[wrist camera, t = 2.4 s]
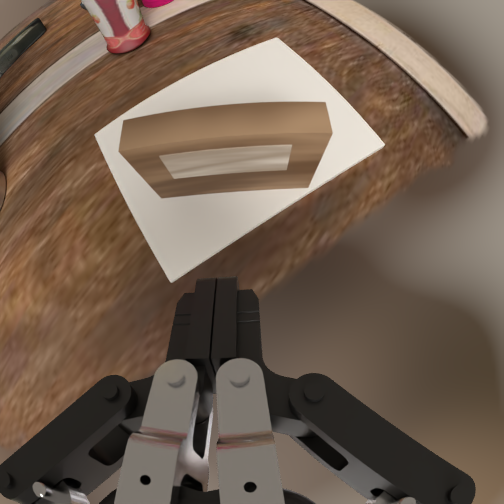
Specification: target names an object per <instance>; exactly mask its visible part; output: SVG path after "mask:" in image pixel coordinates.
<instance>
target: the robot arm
mask: <svg viewBox="0 0 504 504" xmlns="http://www.w3.org/2000/svg"><path fill="white" fill-rule="evenodd" d="M5 190H6V180H5V176H4V174H3V173H2V171H0V209H1V207H2V204H3V201H4V196H5ZM213 394H217V412H218V429H219V439H218V441H217V449H216V450H217V467H218V481H219V489H218V490H213V491H208V482H209V466H208V450H209V443H210V434H211V427H212V419H213V408H212V404H213ZM272 431H273V432H277V433H282V434H287V435H289V436H290V437H291V438H292V439H293V440H294V441H296V442H297V443H298V444H299V445H300V446H301V447H302V448H304V449H305V450H306V451H307V452H308V453H309V454H310V455H312V456H313V457H314V458H315V459H317V460H318V461H319V462H320V463H321V464H322V465H324V466H325V467H326V468H328V469H329V470H330V471H331V472H332V473H334V474H335V475H336V476H337V477H339V478H340V479H341V480H342V481H344V482H345V483H346V484H348V485H349V486H350V487H352V488H353V489H355V490H356V491H357V492H358V493H360V494H361V495H363V496H364V497H365V498H367V499H368V501H367V502H366V504H471V503H472V501H473V499H474V496H475V483H474V481H473V479H472V478H471V477H470V476H469V475H467V474H466V473H464V472H463V471H461V470H459V469H458V468H456V467H455V466H453V465H451V464H450V463H448V462H447V461H445V460H444V459H442V458H440V457H439V456H438V455H436V454H434V453H433V452H432V451H430V450H428V449H427V448H426V447H424V446H422V445H421V444H420V443H418V442H417V441H415V440H413V439H412V438H411V437H409V436H408V435H406V434H405V433H403V432H402V431H401V430H399V429H398V428H396V427H395V426H394V425H392V424H391V423H389V422H388V421H386V420H385V419H384V418H382V417H381V416H380V415H378V414H377V413H376V412H374V411H373V410H371V409H370V408H369V407H367V406H366V405H364V404H363V403H362V402H361V401H359V400H358V399H356V398H355V397H354V396H352V395H351V394H350V393H348V392H347V391H346V390H345V389H343V388H342V387H341V386H339V385H338V384H336V383H335V382H334V381H333V380H331V379H330V378H329V377H327V376H325V375H322V374H317V373H310V374H306V375H303V376H301V377H299V378H298V379H294V378H289V377H284V376H280V375H277V374H275V373H273V372H272V371H270V370H269V369H268V368H267V367H266V366H265V364H264V362H263V358H262V345H261V329H260V315H259V300H258V298H257V296H256V295H255V293H254V292H253V290H252V289H250V290H239V283H238V277H237V276H236V277H220V278H218V279H217V278H205V279H197V282H196V288H195V293H184V295H183V296H182V298H181V299H180V300H179V302H178V303H177V307H176V312H175V317H174V321H173V326H172V331H171V336H170V342H169V347H168V352H167V358H166V361H165V363H164V364H162V365H161V366H160V367H159V368H158V369H157V371H156V372H155V375H153V376H151V377H149V378H145V379H141V380H137V381H133V382H128V381H127V380H126V379H125V378H123V377H122V376H119V375H110V376H106V377H104V378H103V379H101V380H100V381H99V382H97V383H96V384H95V385H94V386H93V387H92V388H90V389H89V390H88V391H87V392H86V393H84V394H83V395H82V396H81V397H80V398H79V399H77V400H76V401H75V402H74V403H73V404H72V405H70V406H69V407H68V408H67V409H66V410H64V411H63V412H62V413H61V414H60V415H59V416H57V417H56V418H55V419H54V420H53V421H51V422H50V423H49V424H48V425H47V426H46V427H44V428H43V429H42V430H41V431H40V432H39V433H37V434H36V435H35V436H34V437H33V438H31V439H30V440H29V441H28V442H27V443H26V444H24V445H23V446H22V447H21V448H20V449H18V450H17V451H16V452H15V453H14V454H13V455H11V456H10V457H9V458H8V459H7V460H6V461H4V462H3V463H2V464H1V465H0V493H1V494H2V495H3V496H4V497H6V498H8V499H10V500H13V501H16V502H18V503H20V504H90V503H89V501H88V500H87V498H86V496H87V495H88V494H90V493H91V492H92V491H93V490H94V489H96V488H97V487H98V486H99V485H100V484H102V483H103V482H104V481H105V480H106V479H108V478H109V477H110V476H111V475H112V474H113V473H114V472H116V471H117V470H118V469H119V468H120V467H121V466H122V468H121V472H120V477H119V481H118V486H117V489H115V490H114V491H112V492H111V493H110V494H109V495H108V496H107V497H105V498H104V499H103V500H102V501H101V502H100V503H99V504H315V503H314V502H313V501H311V500H310V499H309V498H307V497H305V496H303V495H301V494H299V493H296V492H294V491H291V490H287V489H283V488H282V483H281V477H280V472H279V465H278V459H277V453H276V447H275V441H274V437H273V434H272ZM207 491H208V492H207Z"/></svg>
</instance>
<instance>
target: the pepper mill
mask: <svg viewBox="0 0 504 504" xmlns="http://www.w3.org/2000/svg"><path fill="white" fill-rule="evenodd" d="M172 1H173V0H142V2H143V5H144V6H145V7H148V8H154V7H159V6H163V5H165V4H168V3H170V2H172Z"/></svg>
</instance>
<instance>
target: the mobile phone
mask: <svg viewBox="0 0 504 504" xmlns="http://www.w3.org/2000/svg"><path fill="white" fill-rule="evenodd" d="M45 31H46V28H45V26H44V25H43V23H42V22H41V20H40V19H39V18H37V19H35V20H34V21H33V22H31V23H30V24H29V25H28V26H27V27H25V28H24V29H23V30H22V31H21V32H20V33H19V34H17V35H16V36H15V37H14V38H13V39H12V40H11V41H10V42H9V43H8V44H7V45H6V46H4V47H3V48H2V50H1V51H0V77H1V76H2V75H3V74H4V73H5V71H6V70H7V69H8V68H9V67H10V66H11V65H12V64H13V63H14V62H15V61H16V60H17V59H18V58H19V57H20V56H21V55H22V54H23V53H24V52H25V51H26V50H27V49H28V48H29V47H30V46H31V45H32V44H33V43H34V42H35V41H37V40H38V39H39V38H40V37H41V36H42V35H43V34H44V33H45Z"/></svg>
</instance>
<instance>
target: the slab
mask: <svg viewBox="0 0 504 504" xmlns="http://www.w3.org/2000/svg"><path fill="white" fill-rule="evenodd" d="M332 134H333V132H332V127H331V123H330V118H329V114H328V110H327V106H326V102H257V103H240V104H227V105H216V106H207V107H198V108H190V109H183V110H176V111H170V112H164V113H158V114H152V115H147V116H141V117H136V118H132V119H127V120H123V125H122V131H121V137H120V144H119V151H118V152H119V153H120V154H121V155H122V156H123V157H124V158H125V159H126V161H127V162H128V163H129V164H130V165H131V166H132V167H133V168H134V169H135V170H136V172H137V173H138V174H139V175H140V176H141V177H142V178H143V179H144V180H145V181H146V182H147V183H148V185H149V186H150V187H151V188H152V189H153V190H154V191H155V192H156V193H157V194H158V195H159V196H160V197H161V199H162V198H172V197H181V196H191V195H202V194H214V193H226V192H240V191H255V190H273V189H294V188H308V187H309V185H310V183H311V181H312V178H313V176H314V174H315V172H316V170H317V167H318V165H319V163H320V161H321V159H322V156H323V154H324V152H325V150H326V147H327V145H328V143H329V141H330V138H331V136H332Z"/></svg>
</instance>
